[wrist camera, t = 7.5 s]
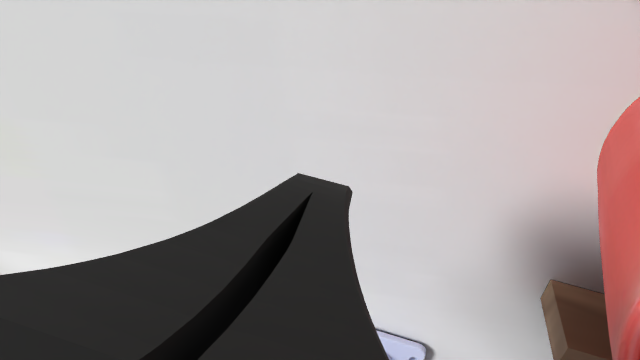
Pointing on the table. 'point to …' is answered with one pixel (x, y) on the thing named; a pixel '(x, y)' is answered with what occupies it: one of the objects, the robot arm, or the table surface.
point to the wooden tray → (576, 322)
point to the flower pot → (621, 232)
